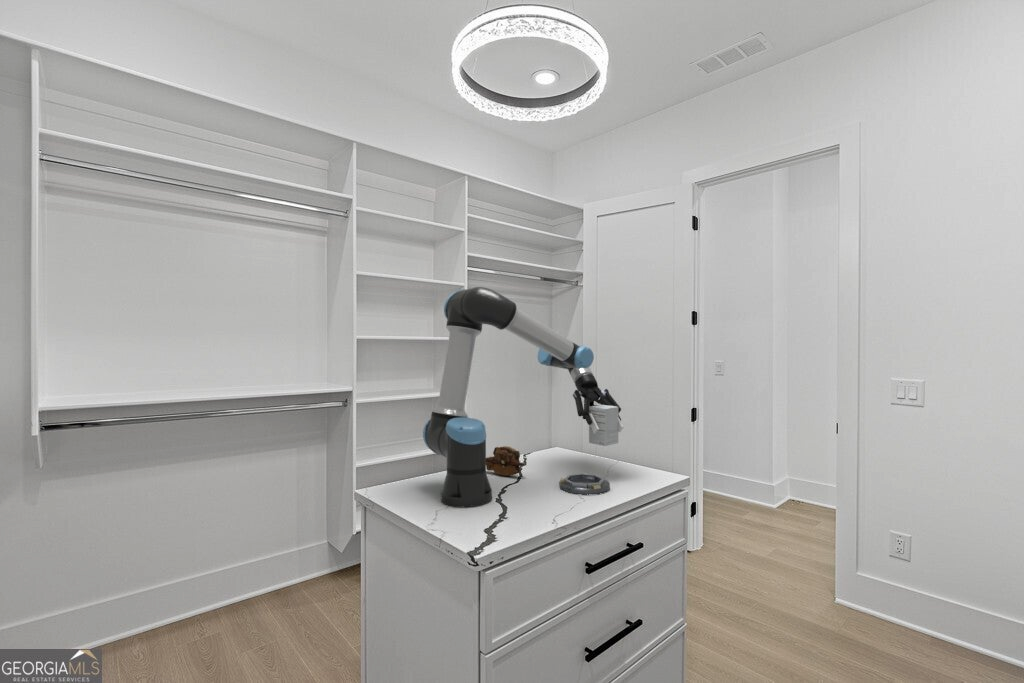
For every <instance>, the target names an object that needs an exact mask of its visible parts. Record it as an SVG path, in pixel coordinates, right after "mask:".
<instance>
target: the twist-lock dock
mask: <svg viewBox="0 0 1024 683" xmlns="http://www.w3.org/2000/svg"><path fill="white" fill-rule="evenodd" d="M610 484H611V483H610V482H609V481H608V480H607V479H606V478H604V477H602V476H600V475H598V474H595V473H594V474H593V473H592V474H591V473H590V474H589V473H575V474H568V475H566V476H565V477H563V478H562V477H560V478H559V482H558V488H559V489H560V490H561V491H562V490H563V492H564V491H565V492H564V493H567V492H568V493H567V494H571V493H572V494H571V495H577V494H582V495H581V496H590V495H589V494H597V495H601V494H600V493H603V494H605V493H604V492H606V493H607V491H608V490H609V489H610V490H611V485H610ZM610 490H609V491H610ZM609 491H608V492H609ZM587 494H588V495H587Z"/></svg>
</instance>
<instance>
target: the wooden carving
mask: <svg viewBox="0 0 1024 683" xmlns="http://www.w3.org/2000/svg"><path fill="white" fill-rule="evenodd" d="M492 454H493V456H488V457H486V471H490V472H492V471H493V472H494V473H495V474H497V475H499V476H504V477H505V476H507V477H508V476H514V475H517V474H520V473H521V472H522V469H521V468H520V467H523V466H525V465H526V464H525V462H521V461H520V457H521V453H520V451H519V450H516V449H515V448H513V447H512V446H505V445H504V446H500V447H499V446H495V447H494V449H493V452H492Z"/></svg>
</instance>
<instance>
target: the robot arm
mask: <svg viewBox="0 0 1024 683" xmlns="http://www.w3.org/2000/svg"><path fill="white" fill-rule="evenodd" d="M443 313H444V316H445V318H446V326H445V327H446V329H447V330H448V332H449V336H448V341H447V342H448V344H447V348H446V349H447V350H446V354H445V359H444V360H445V361H444V366H443V372H442V378H441V382H440V391H439V395H438V403H437V406H436V407H435V408H433V409H432V410H431V415H430V419H429V420H428V421H426V423H425V424H424V426H423V430H422V439H423V441H424V444H425V446H426V447H427V448H428V449H429V450H430V451H431V452H433V453H434V454H436V455H438V456H442V457H443V458H444V457H445V458H446V475H445V478H444V482H443V485H442V488H441V492H440V501H441V503H442V504H444V505H447V506H450V507H458V508H470V507H477V506H482V505H486V504H488V503H490V502H491V501H492V498H493V492H492V488H491V483H490V480H489V478H488V475H487V469H486V458H487V455H486V454H487V442H486V441H487V431H486V425H485V423H484V422H483V421H482V420H479V419H477V418H471V417H469V415H468V414H467V412H466V410H465V404H466V402H467V395H468V394H467V393H468V387H469V382H470V375H471V370H472V362H473V357H474V351H475V344H476V339H477V337H478V336H479V335H481V334H482V330H483V325H488V326H492V327H495V328H496V329H498V330H501V331H502V330H506V331H508V332H509V333H512V334H513V335H515V336H517V337H518V338H520V339H522V340H524V341H526V342H528V343H529V344H530V345H533V346H535V347H536V348H539V349H538V351H537V361H538V362H539V364H541V365H544V366H546V367H554V368H559V369H565V370H567V372H569V374H570V376H571V379H572V380H573V382H574V386H575V387H576V389H575V390H574V391H573V394H572V397H573V398H574V401H575V407H576V411H577V416H578V417H582V420H585V421H586V423H587V425H588V426H589V425H590V426H591V428H592V431H593V433H594V434H596V433H597V432H598V430H599V428H598V425H597V423H596V421H595V419H594V417H593V415H592V413H590V414H589V406H591V405H590V404H591V402H595V403H597V405H609V406H617V407H618V433H621V432H622V431H623V429H624V425H623V423H622V418H621V416H620V415H619V414H620V412H621V411H622V408H621V406H620V405H619V404H618V403H617V402H616V400H615V399H614V397H613V396H612V395H611V393H610V392H609V389H607V388H605V389H604V390H602V389H601V388H600V387H599V385H598V381H597V379H596V377H595V375H594V373H593V372H592V370H591V368H590V366H591V365H593V362H594V352H593V350H592V349H591V348H590V347H588V346H584V345H578V344H576V343H575V342H573V341H571V340H570V339H568V338H566V337H565V336H563V335H562V334H560V333H559V332H556V331H555V330H553V328H550V327H549V326H547V325H545V324H544V323H542V322H540V321H539V320H537V319H536V318H534V317H532V316H530V315H529V314H527V313H525V312H524V311H523V310H520V309H519V308H518V306H517V303H515V302H514V301H512V300H511V299H510V298H508V297H505V296H504V295H502V294H501V293H499V292H497V291H495V290H493V289H490V288H488V287H486V286H485V287H483V286H478V287H477V286H476V287H471V288H467V289H465V288H464V289H459V290H457V291H455V292H453V293H451V294H450V295H448V297H447V298H446V300H445V302H444V306H443ZM582 398H583V400H582Z"/></svg>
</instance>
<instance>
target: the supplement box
mask: <svg viewBox="0 0 1024 683" xmlns="http://www.w3.org/2000/svg"><path fill="white" fill-rule="evenodd" d="M590 413H592V415H593V417H594V419H595V421H596V423H597V425H598V428H599V430H598V432H597V433H596V434H594V433H593V431H592V428H591V426H590V425H588V443H589V444H594V445H598V446H603V447H607V446H611V445H615V444H619V432H618V407H617V406H609V405H601V404H597V405H592V406H591V405H590V406H589V414H590Z"/></svg>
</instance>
